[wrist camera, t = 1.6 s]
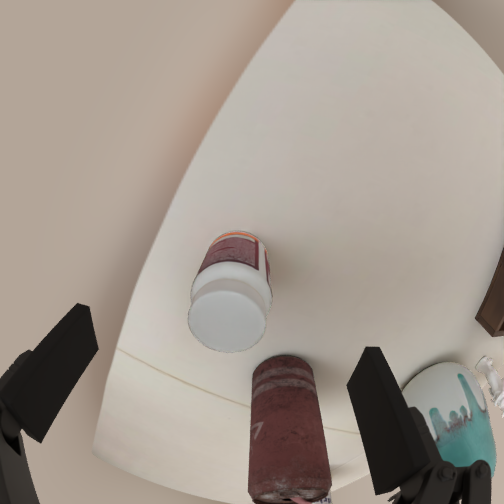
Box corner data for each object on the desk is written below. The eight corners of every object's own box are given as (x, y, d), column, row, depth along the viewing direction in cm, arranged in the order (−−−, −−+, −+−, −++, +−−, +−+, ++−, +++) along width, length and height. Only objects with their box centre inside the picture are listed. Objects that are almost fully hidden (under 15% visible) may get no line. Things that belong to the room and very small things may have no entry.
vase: (377, 416, 29) (407, 524, 13) (402, 359, 25) (462, 492, 9) (442, 398, 29) (482, 486, 12) (472, 341, 25) (538, 438, 8)
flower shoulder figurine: (464, 369, 27) (500, 427, 15) (481, 348, 25) (522, 405, 14) (484, 376, 28) (515, 425, 17) (499, 358, 27) (533, 406, 15)
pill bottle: (195, 256, 21) (161, 318, 13) (239, 217, 20) (225, 264, 12) (236, 296, 22) (226, 370, 15) (281, 261, 21) (292, 328, 13)
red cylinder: (284, 399, 27) (291, 511, 14) (240, 375, 26) (230, 501, 13) (325, 371, 26) (351, 492, 13) (282, 343, 24) (293, 485, 11)
